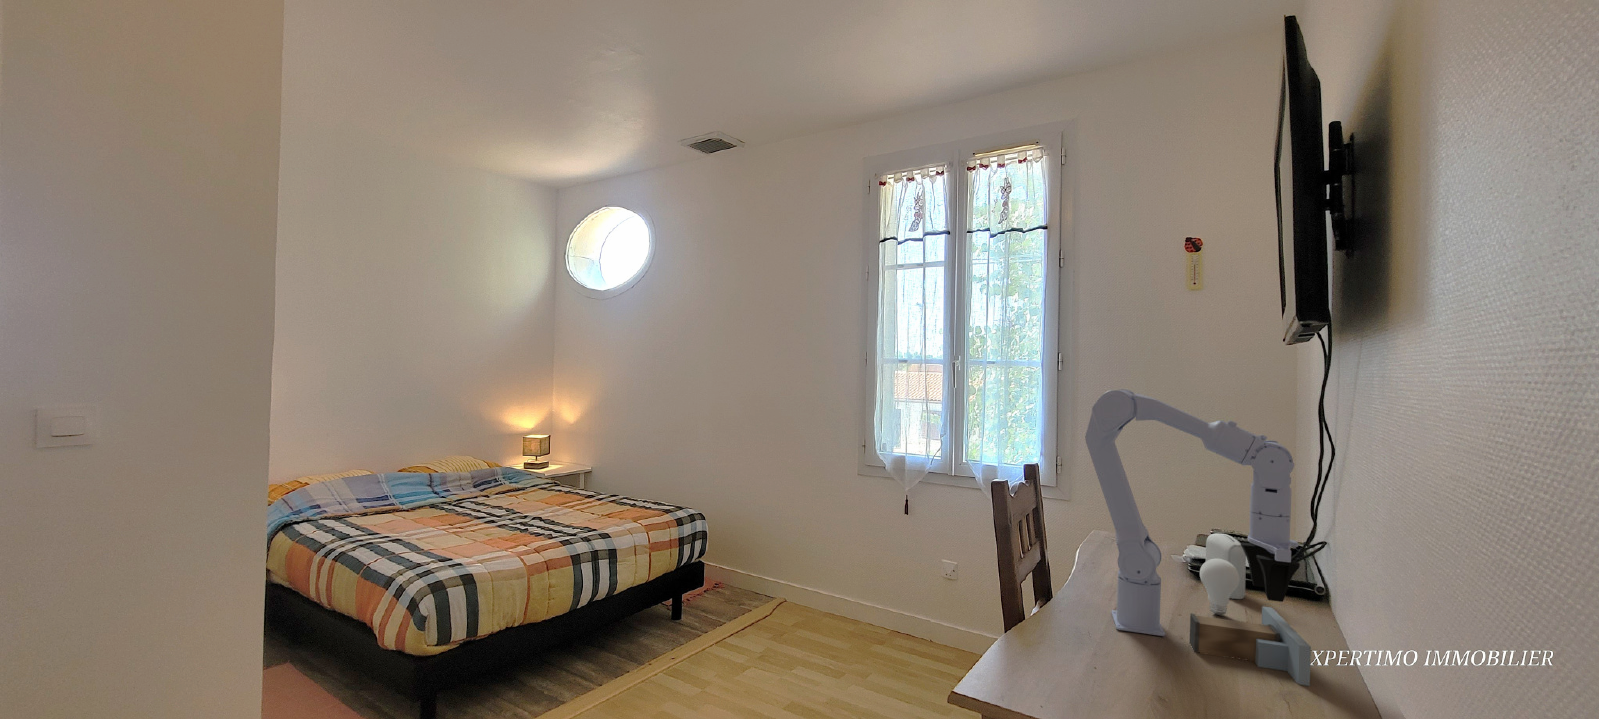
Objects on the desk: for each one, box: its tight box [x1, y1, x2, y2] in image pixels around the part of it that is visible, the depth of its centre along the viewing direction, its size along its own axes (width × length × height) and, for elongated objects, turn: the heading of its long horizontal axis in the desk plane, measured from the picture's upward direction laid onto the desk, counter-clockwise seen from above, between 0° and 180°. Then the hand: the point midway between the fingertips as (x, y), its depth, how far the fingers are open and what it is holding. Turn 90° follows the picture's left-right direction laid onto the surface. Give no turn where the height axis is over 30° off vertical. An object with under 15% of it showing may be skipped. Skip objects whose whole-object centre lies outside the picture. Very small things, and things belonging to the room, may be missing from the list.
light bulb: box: [1199, 559, 1239, 616], centre depth 134 cm, size 7×7×11 cm
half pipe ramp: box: [1189, 613, 1280, 662], centre depth 116 cm, size 12×4×5 cm, turn 70°
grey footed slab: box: [1254, 605, 1312, 687], centre depth 114 cm, size 18×6×6 cm, turn 161°
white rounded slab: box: [1205, 532, 1247, 600], centre depth 148 cm, size 10×4×12 cm, turn 175°
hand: (1267, 593), depth 116 cm, fingers open, 7 cm apart
